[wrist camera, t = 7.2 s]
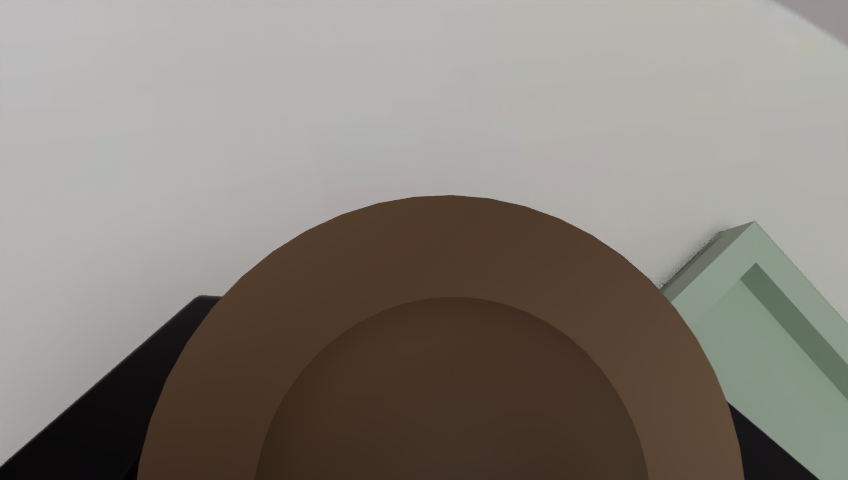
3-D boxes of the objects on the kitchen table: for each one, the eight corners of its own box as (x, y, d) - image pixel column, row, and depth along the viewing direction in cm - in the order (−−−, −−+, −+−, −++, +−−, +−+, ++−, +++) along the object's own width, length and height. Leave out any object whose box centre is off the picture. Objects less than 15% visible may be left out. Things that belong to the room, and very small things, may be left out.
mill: (526, 420, 15) (1001, 588, 4) (360, 563, 14) (421, 1259, 3) (400, 257, 15) (542, 19, 5) (229, 385, 15) (-114, 478, 4)
